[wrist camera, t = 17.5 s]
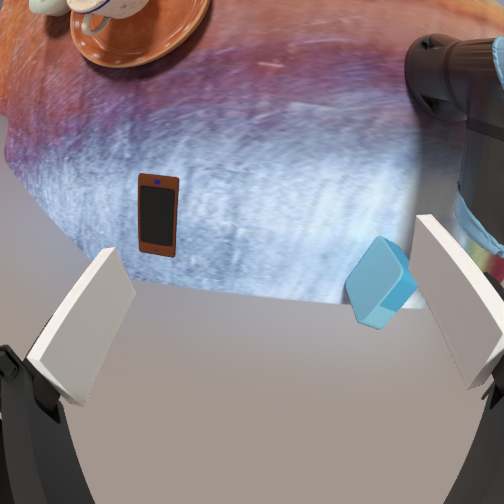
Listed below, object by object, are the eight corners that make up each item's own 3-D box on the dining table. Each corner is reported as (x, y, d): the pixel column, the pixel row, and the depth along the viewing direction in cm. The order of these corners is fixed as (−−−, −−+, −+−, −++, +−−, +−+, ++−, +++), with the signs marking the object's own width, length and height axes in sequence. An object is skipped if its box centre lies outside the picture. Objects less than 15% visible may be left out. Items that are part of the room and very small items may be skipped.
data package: (361, 290, 55) (377, 333, 44) (343, 282, 54) (358, 327, 43) (396, 242, 49) (423, 281, 38) (378, 232, 48) (404, 271, 38)
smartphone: (178, 178, 44) (174, 258, 51) (180, 176, 45) (175, 255, 52) (137, 173, 43) (138, 252, 51) (139, 172, 44) (140, 249, 52)
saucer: (232, 34, 33) (230, 29, 30) (99, 91, 37) (87, 93, 34) (193, -67, 22) (188, -77, 18) (71, -7, 26) (60, -11, 22)
